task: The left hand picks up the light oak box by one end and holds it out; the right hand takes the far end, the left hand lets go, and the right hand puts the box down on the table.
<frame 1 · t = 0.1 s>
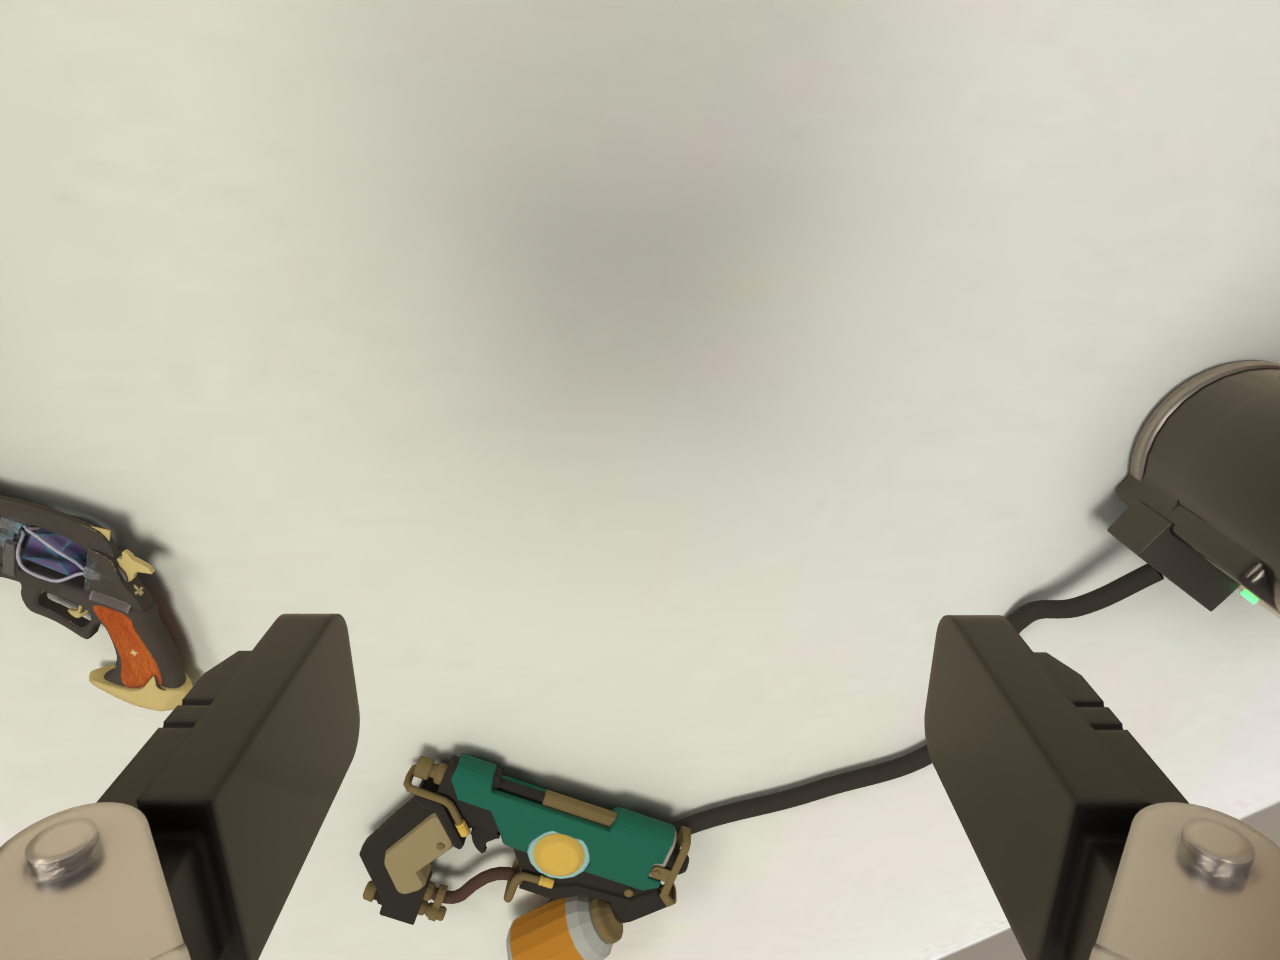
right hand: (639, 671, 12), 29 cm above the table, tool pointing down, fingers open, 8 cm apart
spray gun: (525, 838, 50), on the table
toy gun: (33, 564, 44), on the table
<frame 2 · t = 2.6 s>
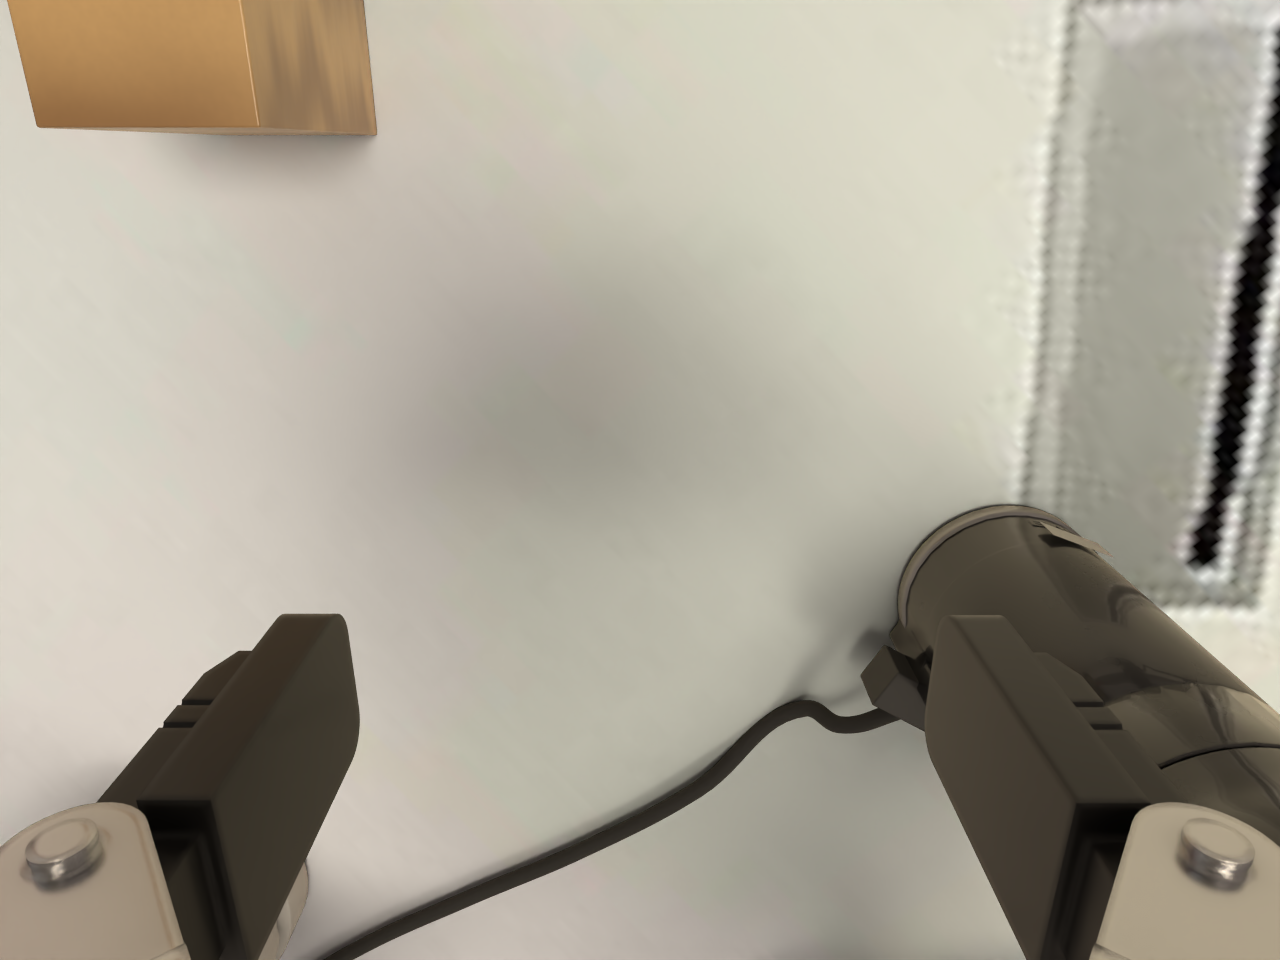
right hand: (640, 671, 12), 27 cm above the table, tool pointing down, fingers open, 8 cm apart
bust sculpture: (261, 857, 48), on the table
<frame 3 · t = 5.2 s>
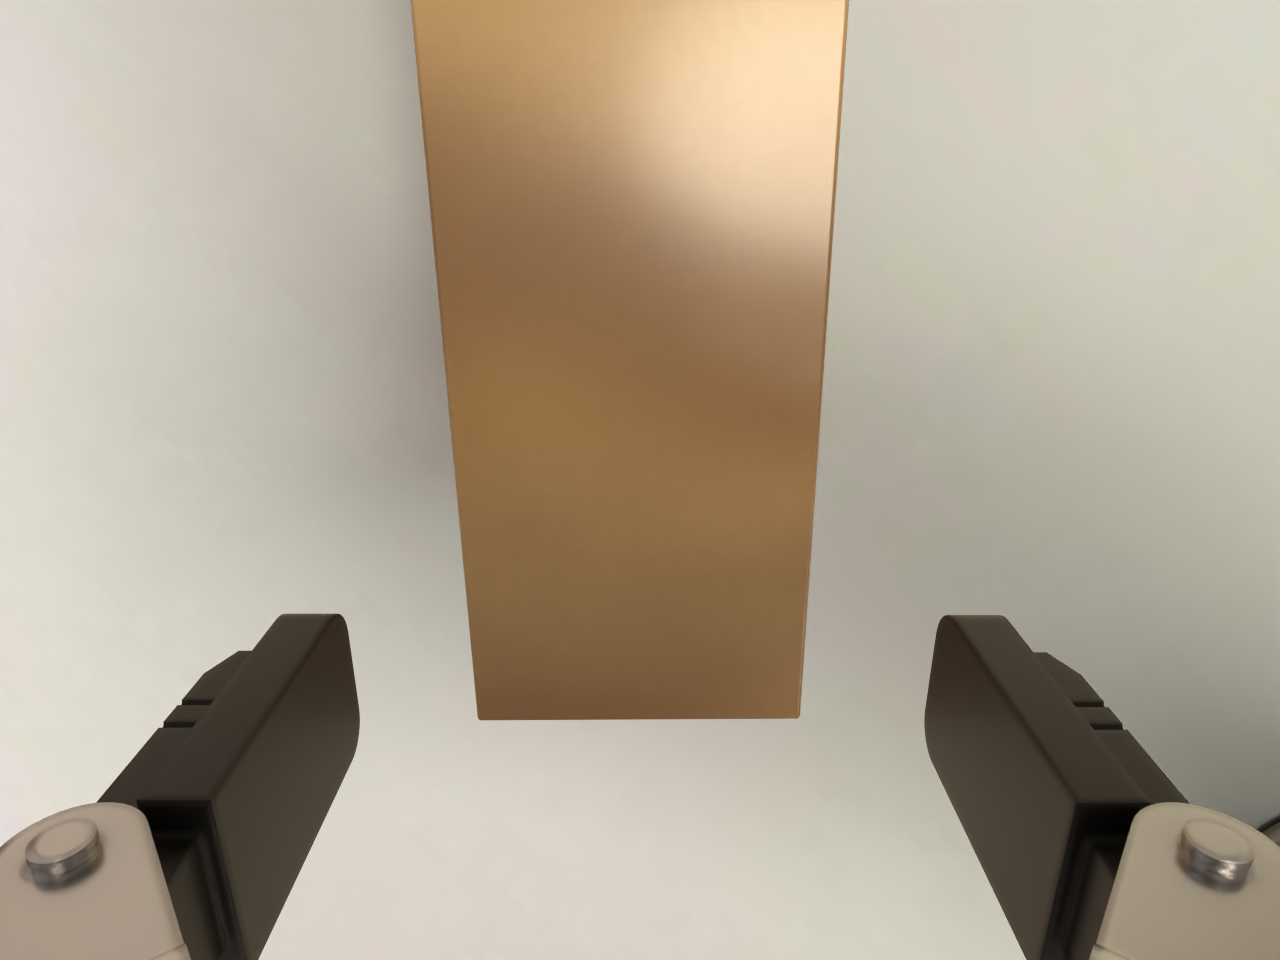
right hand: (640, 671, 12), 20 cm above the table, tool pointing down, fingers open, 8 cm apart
box: (635, 3, 22), point 5 cm above the table, touching left hand
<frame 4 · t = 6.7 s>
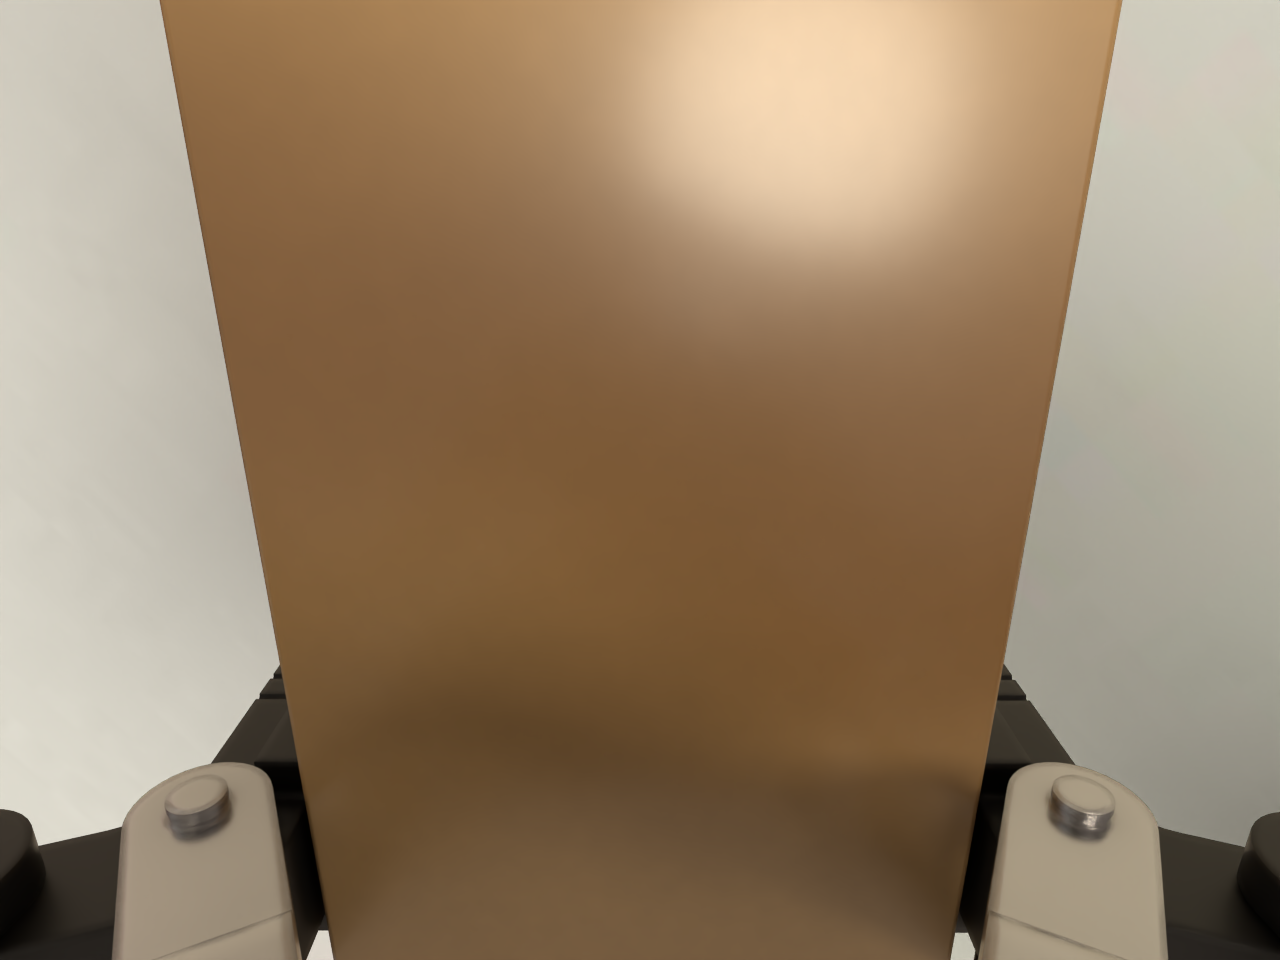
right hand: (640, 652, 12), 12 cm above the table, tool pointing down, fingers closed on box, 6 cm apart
when the left hand's fingers open (12 cm above the table, at t = 7.8 s): box moves 2 cm, held by the right hand.
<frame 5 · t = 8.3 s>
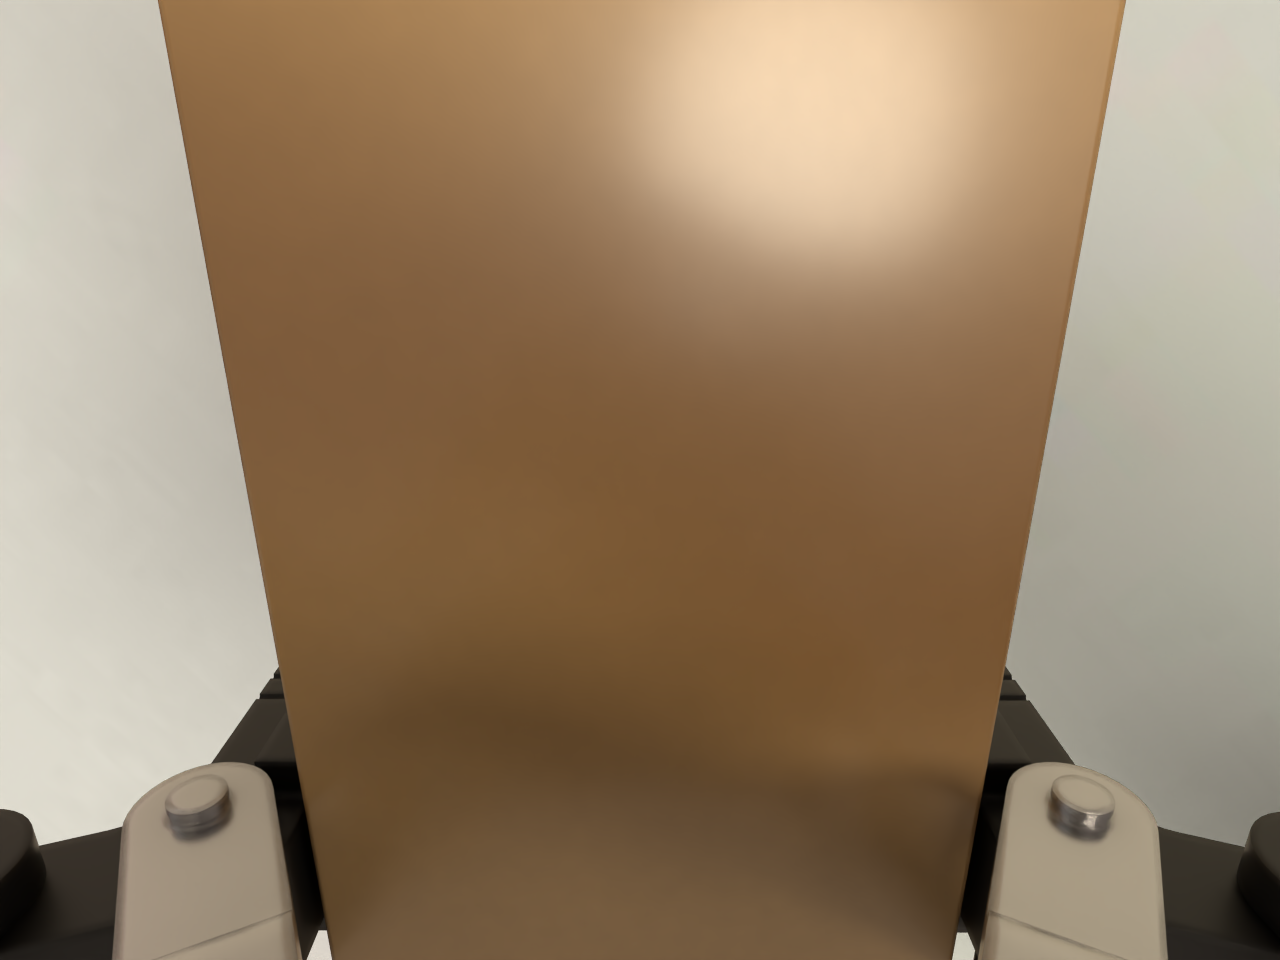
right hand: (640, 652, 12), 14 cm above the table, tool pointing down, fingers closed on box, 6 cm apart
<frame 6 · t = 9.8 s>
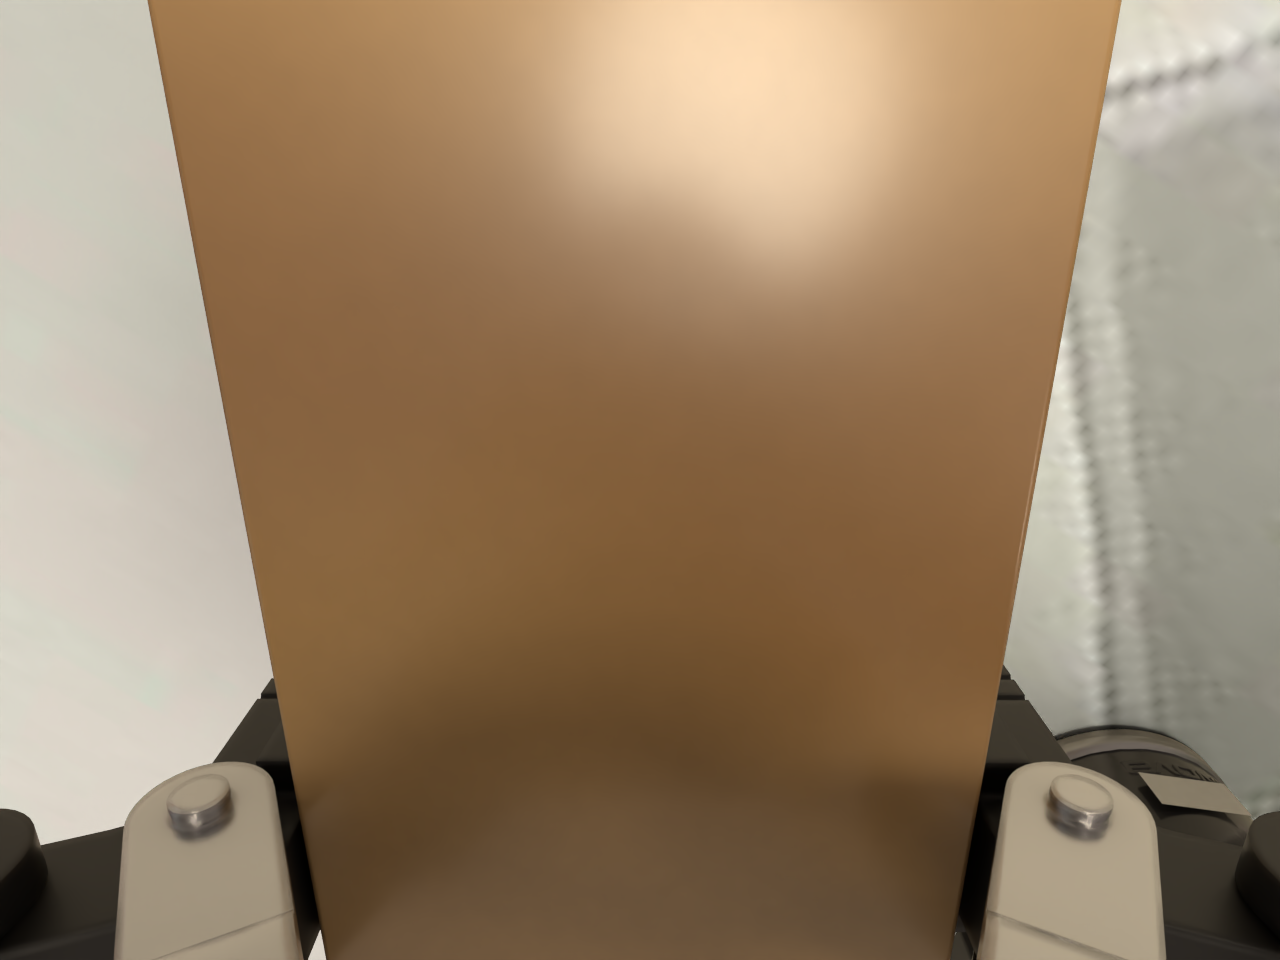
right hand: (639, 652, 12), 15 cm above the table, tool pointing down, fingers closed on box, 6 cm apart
when the right hand's fingers open (9 cm above the table, at t = 13.4 s): box drops 1 cm, on the table.
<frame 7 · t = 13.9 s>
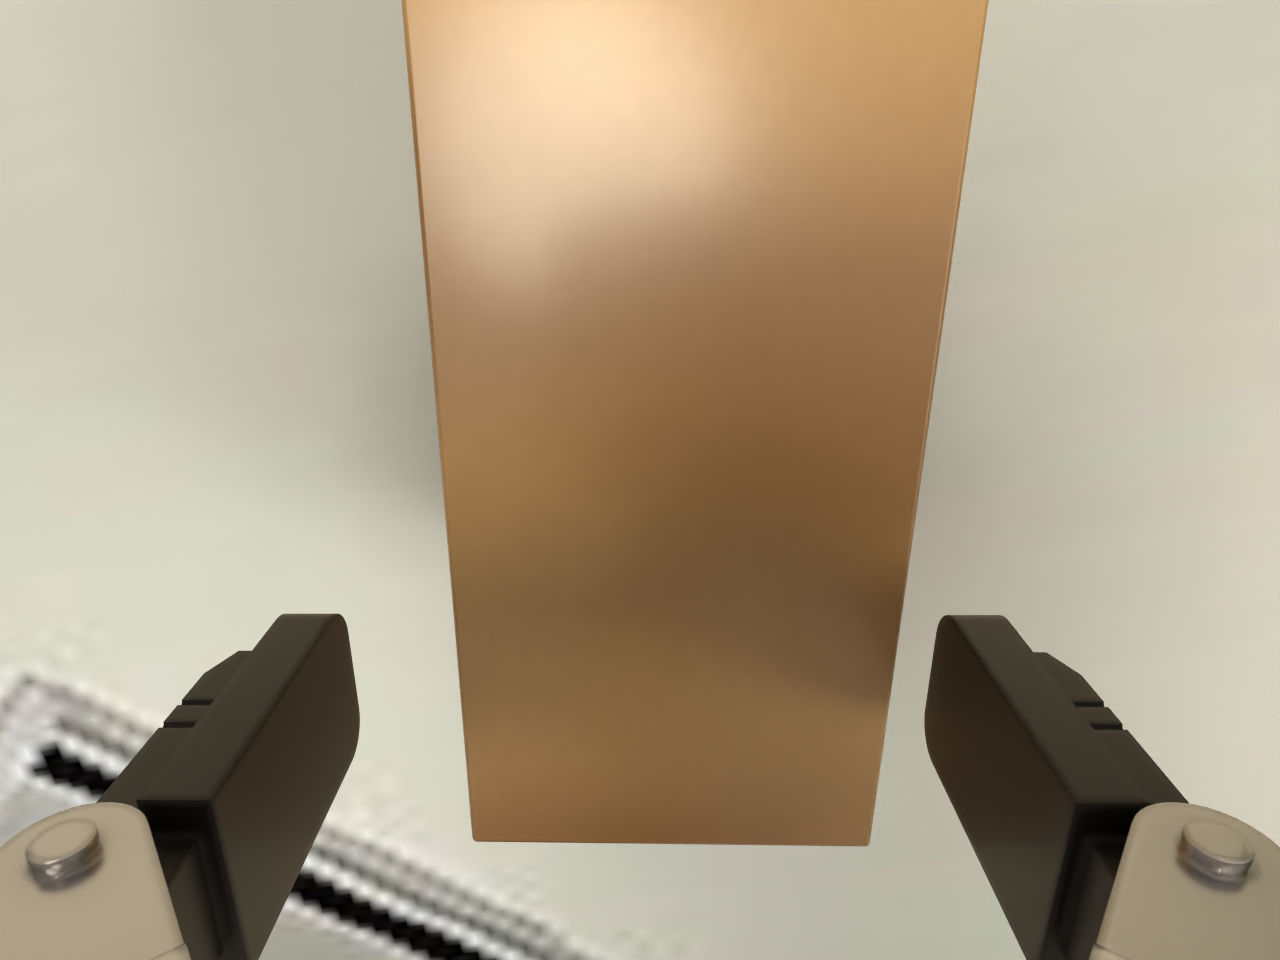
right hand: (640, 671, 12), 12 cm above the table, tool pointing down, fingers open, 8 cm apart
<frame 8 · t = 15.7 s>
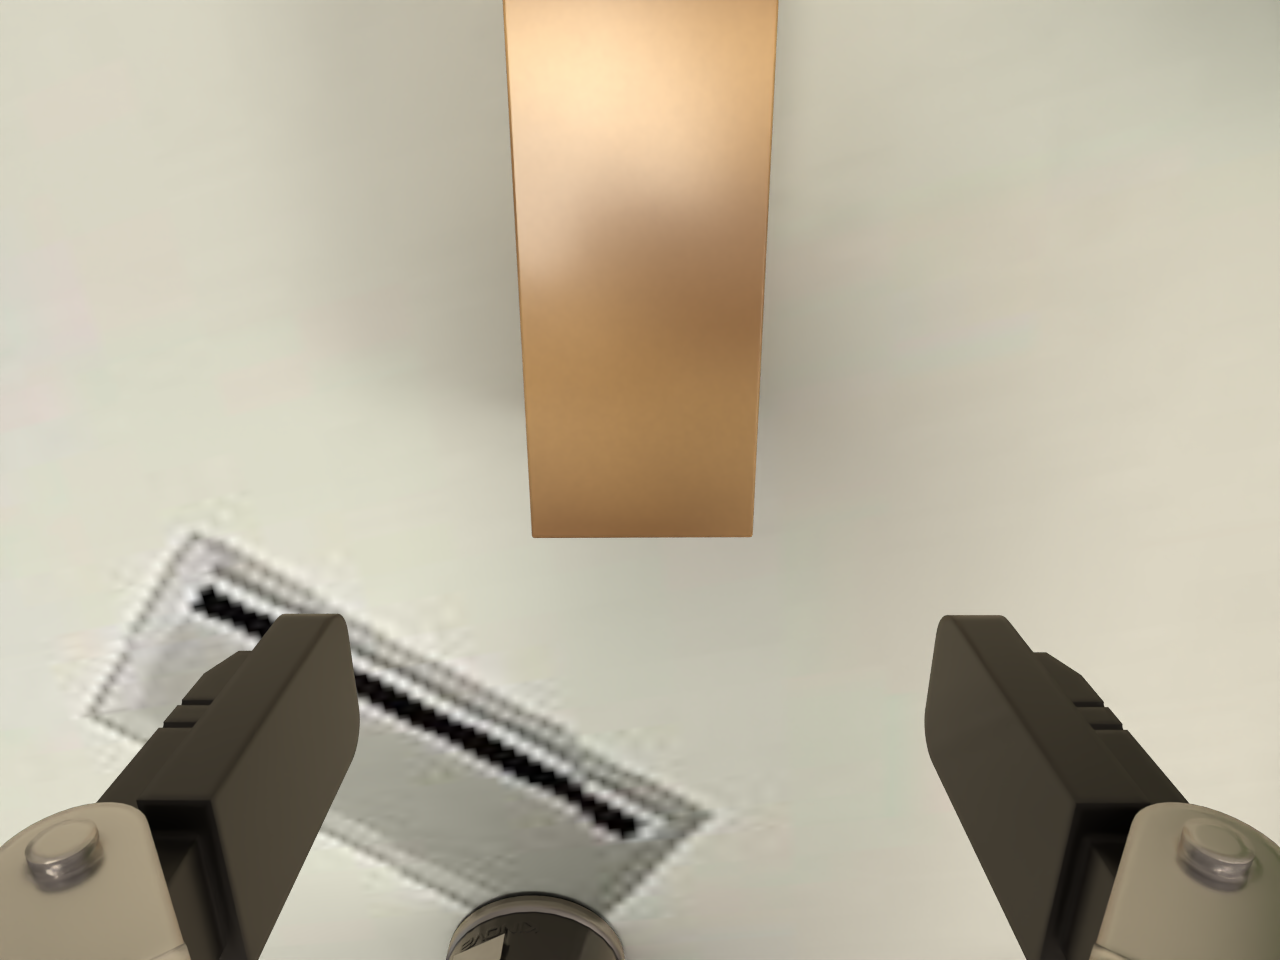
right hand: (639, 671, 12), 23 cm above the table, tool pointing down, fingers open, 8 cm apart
box: (640, 37, 30), on the table
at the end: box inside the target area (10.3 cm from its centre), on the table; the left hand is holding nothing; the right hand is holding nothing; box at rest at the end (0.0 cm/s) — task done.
